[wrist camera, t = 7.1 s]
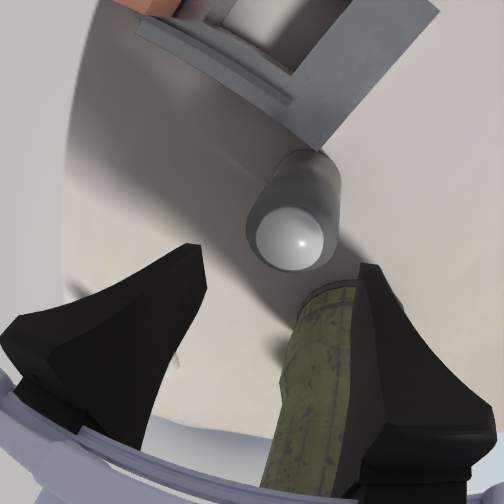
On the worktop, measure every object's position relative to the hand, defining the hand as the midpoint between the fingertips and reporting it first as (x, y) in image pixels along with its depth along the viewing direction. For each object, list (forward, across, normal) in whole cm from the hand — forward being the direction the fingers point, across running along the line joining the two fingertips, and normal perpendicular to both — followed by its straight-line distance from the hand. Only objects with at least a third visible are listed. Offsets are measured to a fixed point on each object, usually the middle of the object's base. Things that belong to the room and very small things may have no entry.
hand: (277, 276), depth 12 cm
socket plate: (+9, +1, -10) cm, 14 cm away
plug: (+9, 0, 0) cm, 9 cm away
